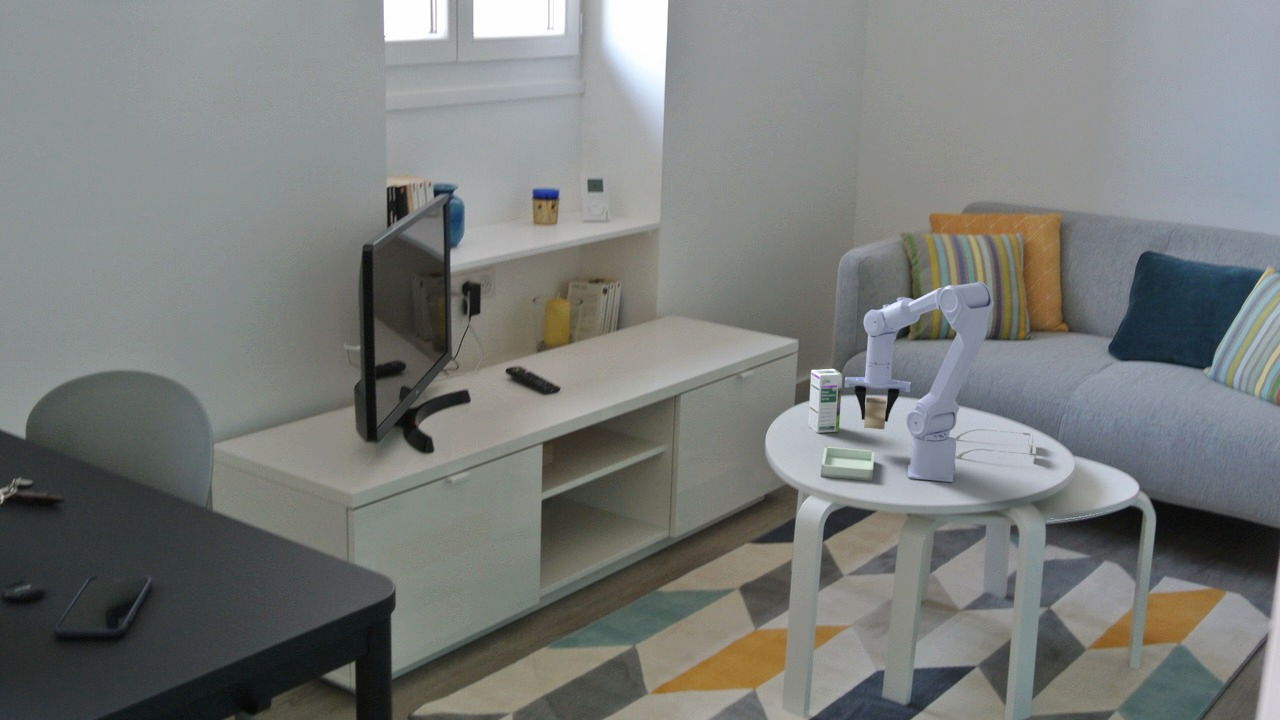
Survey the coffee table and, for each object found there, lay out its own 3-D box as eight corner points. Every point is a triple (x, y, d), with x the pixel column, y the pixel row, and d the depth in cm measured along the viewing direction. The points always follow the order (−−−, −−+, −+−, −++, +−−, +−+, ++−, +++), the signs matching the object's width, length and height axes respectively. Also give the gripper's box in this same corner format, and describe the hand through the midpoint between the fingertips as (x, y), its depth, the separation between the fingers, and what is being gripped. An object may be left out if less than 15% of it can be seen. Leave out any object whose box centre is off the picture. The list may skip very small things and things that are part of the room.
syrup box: (817, 433, 301) (820, 375, 297) (807, 426, 307) (811, 368, 303) (839, 432, 303) (843, 373, 299) (829, 424, 308) (833, 367, 304)
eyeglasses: (1035, 468, 283) (1037, 451, 282) (952, 461, 286) (954, 444, 285) (1029, 446, 297) (1031, 430, 296) (950, 440, 301) (952, 424, 300)
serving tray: (873, 461, 283) (874, 450, 282) (872, 481, 270) (873, 470, 270) (824, 457, 285) (824, 446, 284) (820, 476, 273) (821, 465, 272)
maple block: (884, 423, 289) (886, 398, 288) (884, 429, 285) (886, 403, 283) (864, 421, 290) (866, 396, 288) (864, 427, 286) (865, 402, 284)
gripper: (912, 359, 286) (907, 417, 289) (847, 354, 289) (843, 411, 292) (912, 367, 279) (907, 426, 283) (845, 362, 282) (841, 420, 285)
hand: (874, 419), depth 287 cm, fingers closed on maple block, 4 cm apart
